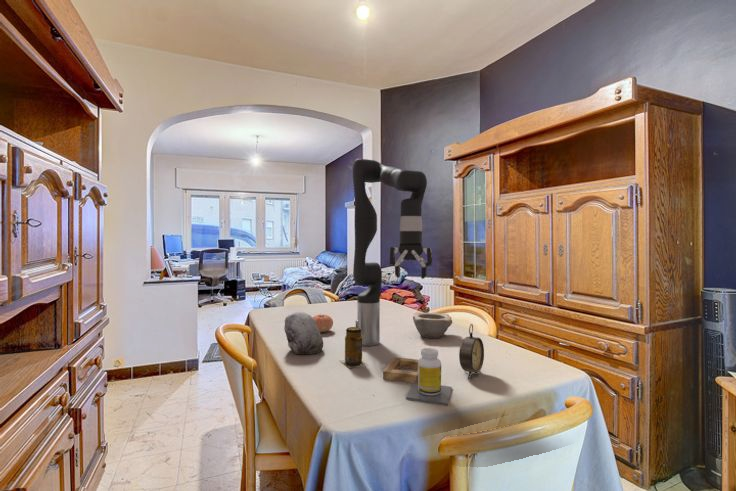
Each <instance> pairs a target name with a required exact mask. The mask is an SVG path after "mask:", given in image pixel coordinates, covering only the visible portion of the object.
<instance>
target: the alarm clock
mask: <svg viewBox="0 0 736 491" xmlns="http://www.w3.org/2000/svg"><path fill="white" fill-rule="evenodd" d="M473 331H474V324H473V323H471V324H470V325H469V328H468V333H469V336H466V337H464V338H463V339H462V341H461V343H460V347H459V351H458V352H459V353H458V357H459V358H458V359H459V364H460V367H461V369H462V370H463V372H464V373H465V372H468V377H467V379H468V380H470V379H471V377H472V373H473V374H478V373H480V372H481V371H482V368H483V365H484V360H485V349H484V348H485V347H484V343H483V340H482V339H481V337H478V336H477V337H475V336H473Z"/></svg>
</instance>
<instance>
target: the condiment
mask: <svg viewBox="0 0 736 491" xmlns="http://www.w3.org/2000/svg"><path fill="white" fill-rule="evenodd" d="M345 332H346V333H345V336H344V359H342V360H341V359H340V362H341V363H342V364H343V365H345V366H346V367H348V369H352V368H353V369H354V368H361V367H366V366H369V364H368V363H367V362H365V361H363V345H362V336H361V329H360V328H358V327H356V326H349V327H347V328H346V330H345Z"/></svg>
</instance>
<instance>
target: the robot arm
mask: <svg viewBox="0 0 736 491" xmlns="http://www.w3.org/2000/svg"><path fill="white" fill-rule="evenodd" d="M353 162H354V163H353V165H352V181H353V182H352V183H353V193H354V194H353V198H354V218H353V220H354V257H353V271H352V274H353V281H354V283H355V284H356V286H359V287H360V286H367V288H366V289H365V290H364V291H362V292H360V293H358V295H357V298H356V299H357V300H356V301H357V302H356V304H357V310H356V311H357V313H356V314H357V315H356V316H357V319H356V320H355V327H358V328H360V329H361V336H362V347H363V346H364V347H365V346H366V347H372V346H378V345H380V341H381V340H380V338H381V337H380V335H381V333H380V332H381V331H380V330H381V329H380V328H381V327H380V326H381V325H380V324H381V318H380V317H381V316H380V315H381V314H380V313H381V311H380V310H381V308H380V307H381V295H382V294H381V293H382V281H383V279H382V278H383V275H382V274H383V273H382V267H381V265H380V264H379V263H378V262H366V257H367V252H368V249H369V247H370V245H371V243H372V241H373V240H374V239H375V236H376V234H377V231H378V214H377V212H376V209H375V207H374V206H373V204H372V201H370V199H369V197H368V194H367V191H366V183H368V184H370V183H371V184H373V183H382V184H384V185H386V186H388V187H391V188H394V189H396V190H397V191H401V192H408V193H411V195H410V197H409V198H405V199H402V200H401V202H400V219H399V247H395V246H391V247H390V249H389V264H390V265H392V266H394V276H396V278H400V277H401V266H400V265H402V263H403V261H410V260H411V261H416V260H417V262H418V264H420V265H421V279H422V280H423V279H425V278H426V277H427V275H428V274H427V270H428V269H427V268H428V267H429V266H432V265H433V250H432V247H423V221H422V220H423V218H422V210H423V209H422V205H423V201H424V197H425V192H426V189H427V184H428V182H427V181H428V180H427V176H426V174H425V173H424V172H422V171H418V170H409V169H408V170H407V169H402V168H400V167H395V166H387V165H385V164H383V163H381V162H379V161H377V160H374V159H366V158H356V159H355V160H354V161H353ZM398 252H399V255H400V256H399V257H398V259H396V254H397V253H398ZM423 252H424V253H425V255H426V258H427V262H426V260H425V259H424V258H423V257H422V254H423Z"/></svg>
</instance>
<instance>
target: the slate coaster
mask: <svg viewBox="0 0 736 491" xmlns="http://www.w3.org/2000/svg"><path fill="white" fill-rule="evenodd" d="M452 388H453V386H449V385H443V384H441V392H440V393H439V394H437V395H425V394H422V393H420V392H419V390H418V382H414V383H413V384H412V386H411V387H410V389H409V390H408V393H407V395H406V396H405V399H406V400H408V401H409V400H411V401H415V402H422V403H429V404H436V405H442V406H448V403H449V400H450V397H451V392H452V390H453V389H452Z"/></svg>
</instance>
